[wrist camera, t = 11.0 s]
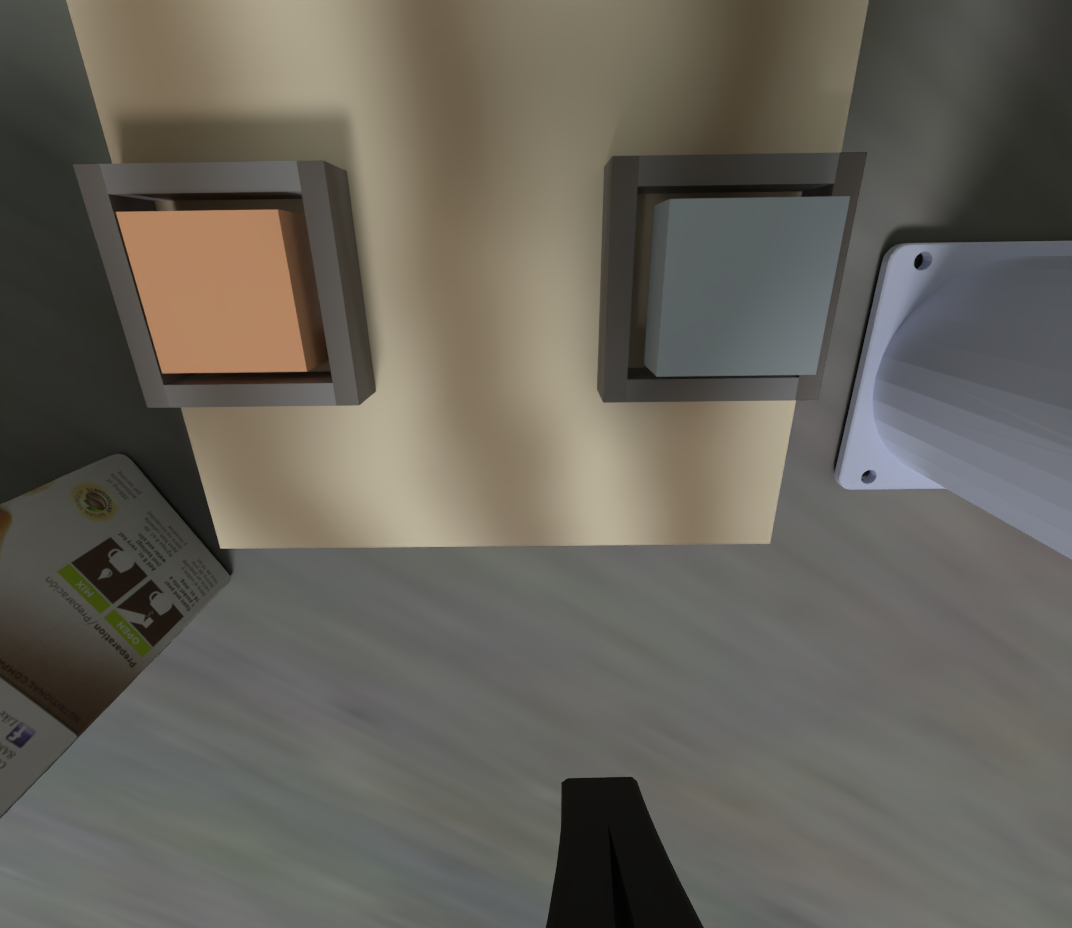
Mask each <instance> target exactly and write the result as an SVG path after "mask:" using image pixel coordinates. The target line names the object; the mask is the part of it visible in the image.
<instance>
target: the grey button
mask: <svg viewBox="0 0 1072 928" xmlns="http://www.w3.org/2000/svg"><path fill="white" fill-rule="evenodd" d="M849 201H850V196H831V197H763V198H695V199H669V200H666V201H664V202H662V203H660V204H657V205H655V206H654V218H653V233H652V248H651V263H650V279H649V294H648V309H647V324H646V339H645V354H644V365H645V366H646V367H647V368H648V369H649V370H650V371H651V372H652V373H653V374H654V375H655V376H656V377H671V376H755V375H816V371H817V366H818V361H819V356H820V351H821V345H822V340H823V335H824V330H825V325H826V320H827V314H828V309H829V304H830V299H831V294H832V288H833V283H834V278H835V273H836V268H837V263H838V257H839V252H840V247H841V242H842V237H843V232H844V226H845V221H846V216H847V211H848V206H849Z"/></svg>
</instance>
